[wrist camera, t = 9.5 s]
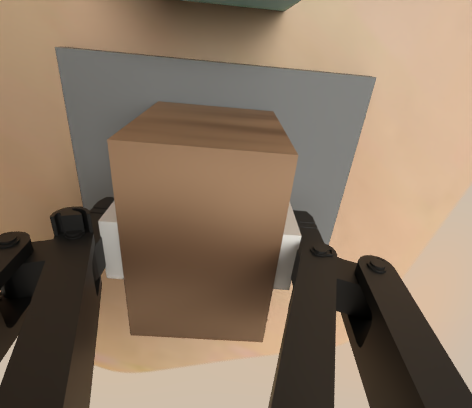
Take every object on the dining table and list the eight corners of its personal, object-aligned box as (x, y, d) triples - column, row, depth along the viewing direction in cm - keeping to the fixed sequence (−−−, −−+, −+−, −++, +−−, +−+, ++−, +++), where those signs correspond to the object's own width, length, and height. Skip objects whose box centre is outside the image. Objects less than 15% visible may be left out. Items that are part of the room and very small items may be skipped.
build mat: (63, 46, 15) (55, 47, 15) (370, 76, 16) (376, 77, 15) (97, 251, 21) (92, 258, 21) (317, 266, 22) (320, 273, 21)
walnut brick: (158, 101, 15) (107, 139, 9) (273, 111, 16) (298, 155, 10) (163, 243, 20) (130, 334, 13) (254, 249, 20) (262, 342, 14)
